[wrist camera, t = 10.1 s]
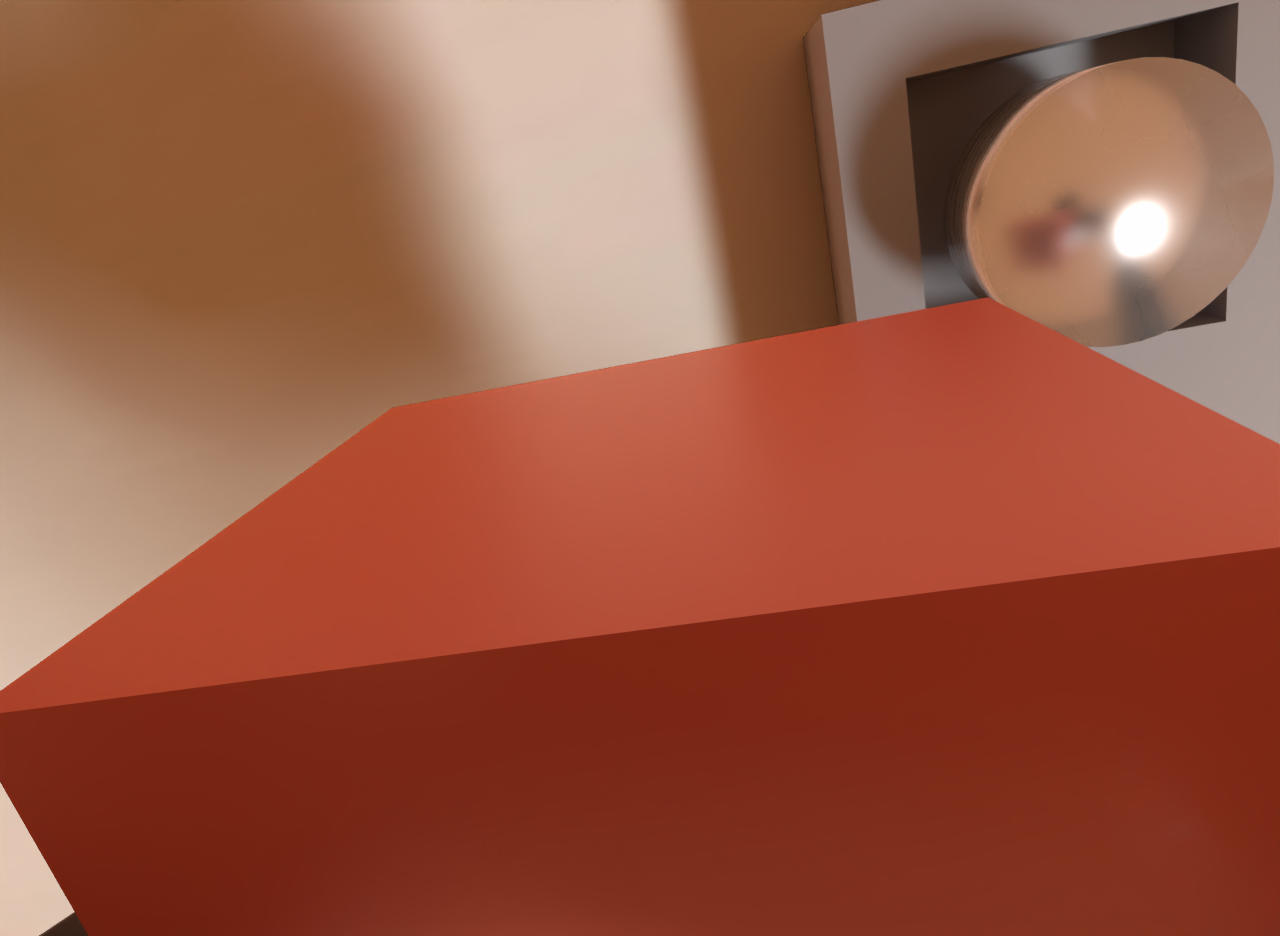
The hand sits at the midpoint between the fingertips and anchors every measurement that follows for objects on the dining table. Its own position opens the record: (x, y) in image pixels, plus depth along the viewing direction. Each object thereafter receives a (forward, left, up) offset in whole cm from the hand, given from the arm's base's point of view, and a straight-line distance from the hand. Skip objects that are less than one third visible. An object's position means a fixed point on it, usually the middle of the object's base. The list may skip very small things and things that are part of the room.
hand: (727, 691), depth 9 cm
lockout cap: (0, 0, -2) cm, 2 cm away
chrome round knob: (+3, -7, -9) cm, 12 cm away
